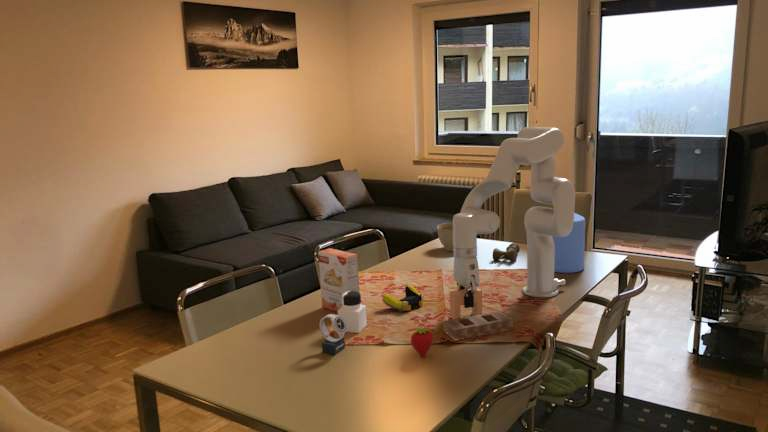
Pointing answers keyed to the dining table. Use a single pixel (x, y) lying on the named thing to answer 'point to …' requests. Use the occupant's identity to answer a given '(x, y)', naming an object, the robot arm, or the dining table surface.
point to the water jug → (571, 248)
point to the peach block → (458, 300)
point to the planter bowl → (446, 235)
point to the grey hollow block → (478, 325)
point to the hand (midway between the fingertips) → (466, 304)
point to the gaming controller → (405, 300)
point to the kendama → (507, 253)
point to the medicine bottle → (353, 312)
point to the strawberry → (422, 340)
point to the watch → (333, 343)
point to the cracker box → (337, 276)
